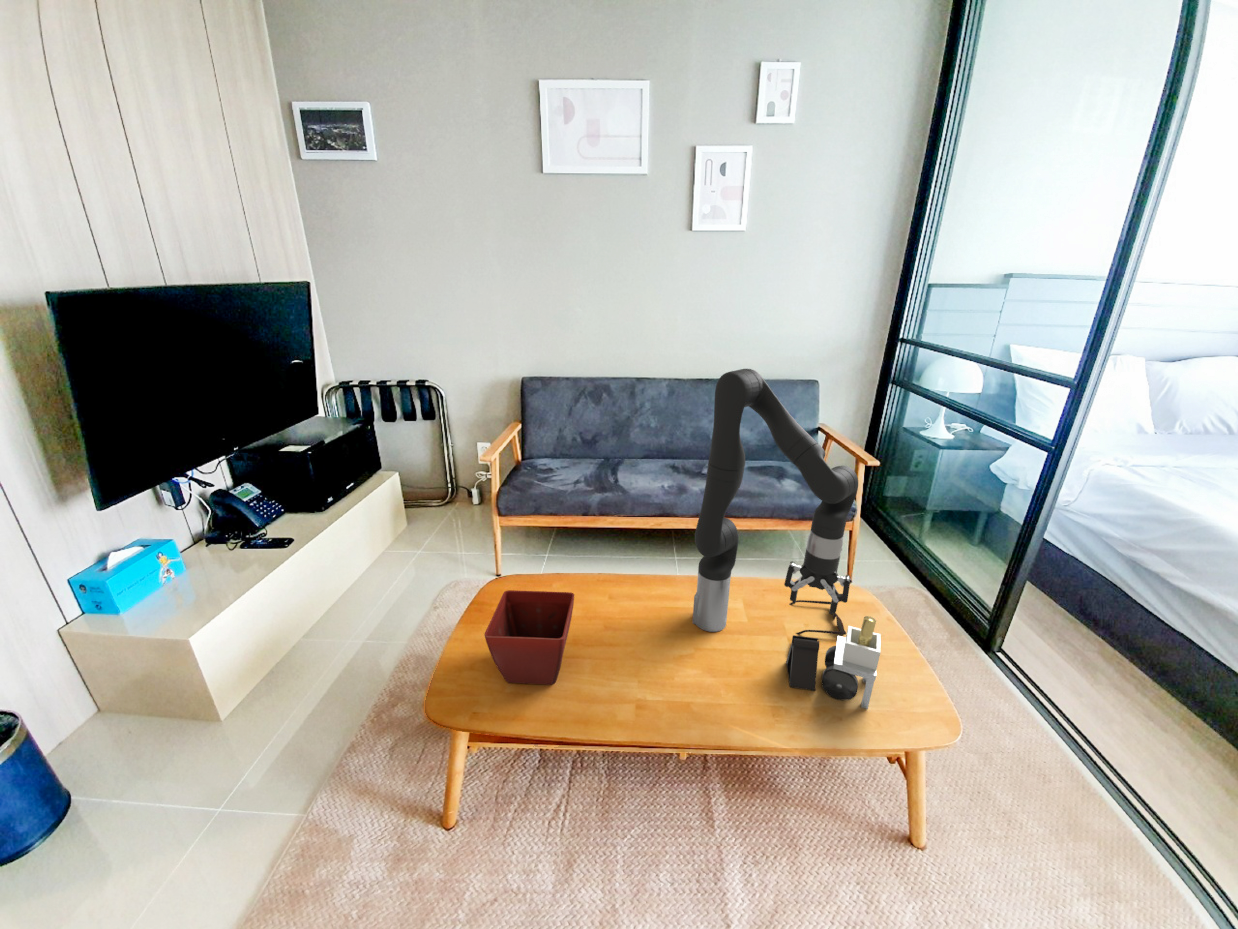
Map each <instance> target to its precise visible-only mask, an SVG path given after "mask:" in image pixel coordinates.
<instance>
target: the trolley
mask: <svg viewBox="0 0 1238 929" xmlns="http://www.w3.org/2000/svg"><path fill="white" fill-rule="evenodd" d="M845 640H846V636H845V637H844V636H842V635H837V638H836V645H833V646H830V647H829V648H828V649H827V650H826V652H825V656H824V665H825V667H826V668H825V669H824V670H823V672H822V677H821V681H820V682H821V686H822V689H823V691H824V692H825V693H826V694H827V695H828V696H829V697H831V698H833V699H835V700H839V701H849V700H851V699H854V698H855V697H856V696H857V694H858V686H859V681H858V677H860V678H862V683H865V685H864V686H865V687H864V689H863V694H862V700H861V705H860V707H861V709H862V708H863V709H866V710H868V709H869V704H870V701H871V696H872V692H873V688H874V683H875V681H876V678H877V670H874V669H870V668H867V667H863V666H860V665H857V664H853V663H850V662H847V661H843V656H844V647H845Z"/></svg>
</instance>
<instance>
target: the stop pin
mask: <svg viewBox="0 0 1238 929" xmlns="http://www.w3.org/2000/svg"><path fill="white" fill-rule="evenodd" d="M876 623H877V620H876V618H874V617H873V616H869V615H865V616H864V617H863V620H862V625H861V628H860V629H861V631H860V635H859V639H858V643H857V644H859V645H863V646H866V647H869V646H870V642H871V639H872V635H873V632H874V630H875V627H876Z"/></svg>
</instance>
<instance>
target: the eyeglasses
mask: <svg viewBox="0 0 1238 929" xmlns="http://www.w3.org/2000/svg"><path fill="white" fill-rule="evenodd" d="M796 603H810V604H818V605H819V604H821V605H831V601H823V600H808V599H807V600H806V599H805V600H802V599H798V600H797V599H796V602H795V604H796ZM789 605H790V606H792V605H794V604H793V603H792V602H790V603H789ZM832 617H833V619H834V620H835V619H836V626H837V628H838V631H837V630H820V629H819V630H818V629H817V630H816V629H805V630H801V631H799V632H795V635H801V634H804V633H820V634H821V633H822V634H831V635H832V634H833V635H840V636H844V635H847V631H846V630H845V627H844V622H843V620H842V619H841V617H840V616H839V615H838V614H837V612H835V613H832Z"/></svg>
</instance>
